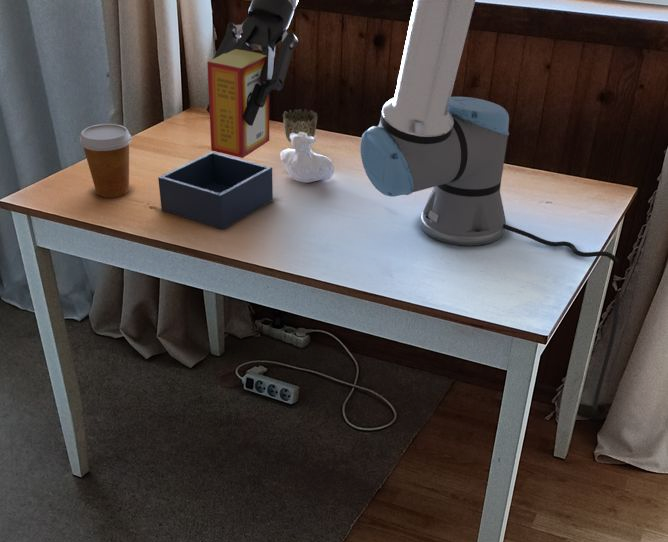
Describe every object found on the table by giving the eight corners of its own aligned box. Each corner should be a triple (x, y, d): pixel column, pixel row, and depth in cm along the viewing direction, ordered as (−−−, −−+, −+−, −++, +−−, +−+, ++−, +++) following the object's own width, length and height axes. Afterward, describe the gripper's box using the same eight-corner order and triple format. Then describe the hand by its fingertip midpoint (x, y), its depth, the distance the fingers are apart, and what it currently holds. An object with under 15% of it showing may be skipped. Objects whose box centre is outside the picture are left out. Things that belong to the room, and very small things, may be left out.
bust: (279, 183, 177) (261, 153, 166) (293, 153, 178) (276, 121, 168) (331, 195, 172) (315, 165, 162) (345, 164, 174) (330, 132, 164)
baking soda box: (238, 133, 159) (236, 46, 150) (269, 140, 157) (269, 52, 148) (211, 150, 152) (207, 59, 143) (242, 158, 150) (240, 66, 141)
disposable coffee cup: (110, 205, 161) (101, 144, 155) (77, 192, 166) (67, 132, 159) (147, 189, 168) (141, 130, 161) (115, 177, 172) (107, 119, 166)
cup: (282, 144, 189) (281, 108, 185) (315, 143, 190) (315, 108, 186) (284, 156, 183) (283, 120, 179) (318, 155, 184) (318, 119, 179)
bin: (273, 199, 165) (272, 167, 161) (222, 229, 154) (220, 195, 150) (213, 182, 171) (211, 151, 167) (161, 210, 160) (158, 177, 156)
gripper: (331, 21, 151) (285, 138, 148) (237, 6, 158) (192, 118, 155) (317, -6, 144) (269, 117, 141) (219, -19, 151) (172, 97, 148)
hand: (229, 117), depth 148 cm, fingers closed on baking soda box, 7 cm apart
